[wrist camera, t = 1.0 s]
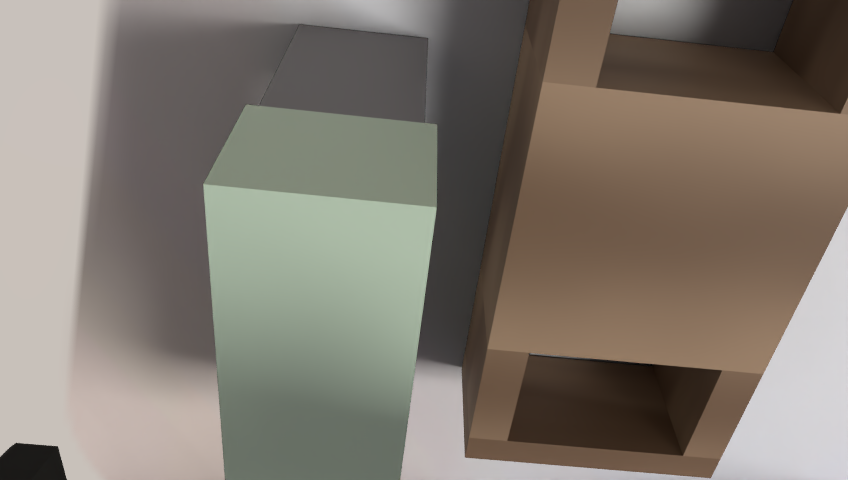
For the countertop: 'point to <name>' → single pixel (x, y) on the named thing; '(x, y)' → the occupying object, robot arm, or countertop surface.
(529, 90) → the post base
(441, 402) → the countertop surface
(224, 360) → the green toy bench
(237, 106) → the countertop surface
